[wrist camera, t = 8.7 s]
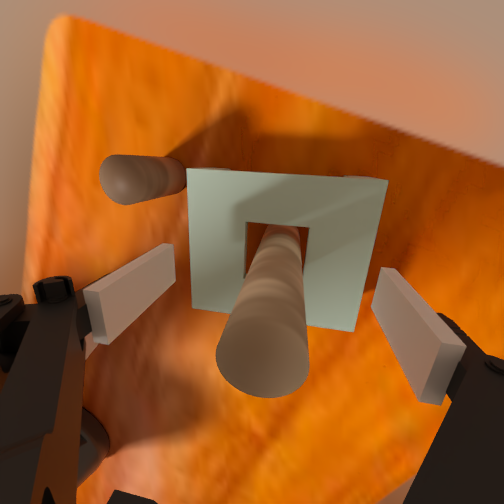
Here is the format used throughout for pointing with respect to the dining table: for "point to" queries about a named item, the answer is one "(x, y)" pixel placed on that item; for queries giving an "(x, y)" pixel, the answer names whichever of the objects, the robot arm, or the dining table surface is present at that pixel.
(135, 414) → the dining table surface
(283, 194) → the bridge
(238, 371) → the long pin
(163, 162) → the short pin
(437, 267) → the dining table surface
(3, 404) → the robot arm
